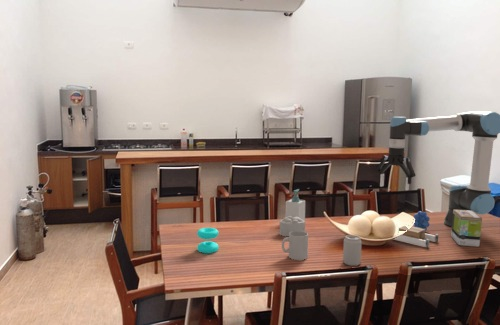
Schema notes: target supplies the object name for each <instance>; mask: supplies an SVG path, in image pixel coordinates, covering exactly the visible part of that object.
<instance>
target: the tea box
mask: <svg viewBox="0 0 500 325" xmlns="http://www.w3.org/2000/svg"><path fill="white" fill-rule="evenodd" d="M482 224H483V217H482V215H480V214H477V213H475V212H474V211H470V210H453V217H452V226H451V231H450V232H451V233H450V237H451V238H452V239H453V240H454V241H455V243H456V244H457V245H458V246H465V247H466V246H467V247H480V243H481V232H482Z"/></svg>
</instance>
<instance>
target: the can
mask: <svg viewBox="0 0 500 325" xmlns="http://www.w3.org/2000/svg"><path fill="white" fill-rule="evenodd" d="M362 244H363V243H362V240H361V237H360V236H358V235H356V234H354V235H353V234H349V235H345V237H344V239H343V249H342V250H343V251H342V262H343V263H344V264H345V265H346V266H349V267H357V266H359V265H360V264H361V263H362Z"/></svg>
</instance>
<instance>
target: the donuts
mask: <svg viewBox="0 0 500 325" xmlns="http://www.w3.org/2000/svg"><path fill="white" fill-rule="evenodd" d="M196 235H197V237H198V238H200V239H203V240H207V241H202V242H200V243H199V244H198V245H197V246H196V249H197V251H198V252H199V253H201V252H202V253H201V254H214V253H216V252H218V250H219V248H220V247H219V244H218V243H217V242H214V241H208V240H211V239H216V238H218V236H219V230H218V229H217V228H215V227H202V228H199V229H198V230H197V232H196ZM213 252H214V253H213Z"/></svg>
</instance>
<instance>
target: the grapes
mask: <svg viewBox="0 0 500 325" xmlns="http://www.w3.org/2000/svg"><path fill="white" fill-rule="evenodd" d="M413 218H414V219H415V223H414V224H413V227H417V228H422V229H425V232H426V231H427V230H428V228H429V227H430V222H429V221H430V216H428V213H427V212H425V211H423V212H422V211H421V210H419V211H417V213H415V214H414V215H413Z"/></svg>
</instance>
